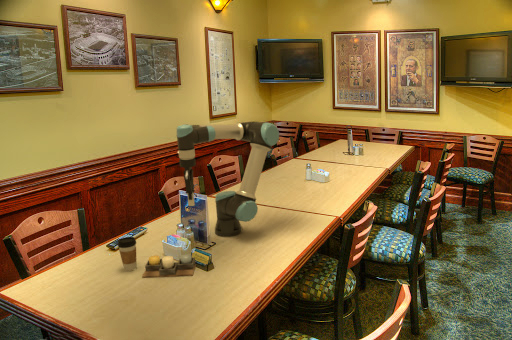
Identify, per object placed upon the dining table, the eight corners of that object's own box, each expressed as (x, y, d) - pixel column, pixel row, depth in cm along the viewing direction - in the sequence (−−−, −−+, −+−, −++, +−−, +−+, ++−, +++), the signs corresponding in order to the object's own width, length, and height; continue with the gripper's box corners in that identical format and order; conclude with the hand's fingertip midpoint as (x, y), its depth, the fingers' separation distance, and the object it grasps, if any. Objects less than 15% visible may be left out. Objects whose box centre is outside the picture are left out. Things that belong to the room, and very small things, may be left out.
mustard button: (161, 262, 211) (160, 255, 210) (159, 267, 206) (158, 259, 205) (150, 263, 211) (150, 255, 210) (148, 268, 206) (147, 260, 205)
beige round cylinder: (174, 263, 206) (174, 255, 205) (172, 268, 201) (172, 260, 200) (164, 264, 206) (163, 256, 205) (161, 268, 201) (161, 260, 200)
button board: (196, 263, 213) (196, 256, 212) (192, 275, 200) (192, 268, 199) (149, 265, 213) (148, 258, 212) (142, 278, 201) (141, 271, 200)
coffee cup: (117, 269, 210) (113, 240, 207) (132, 262, 217) (128, 234, 213) (128, 274, 205) (124, 244, 202) (143, 266, 212) (139, 237, 208)
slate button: (192, 261, 210) (191, 253, 209) (191, 266, 205) (190, 258, 204) (182, 262, 210) (181, 254, 209) (180, 266, 206) (179, 258, 205)
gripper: (181, 155, 215) (186, 201, 221) (176, 161, 203) (181, 210, 208) (196, 154, 215) (201, 200, 221) (192, 160, 202) (197, 209, 208)
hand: (191, 205), depth 215 cm, fingers closed
